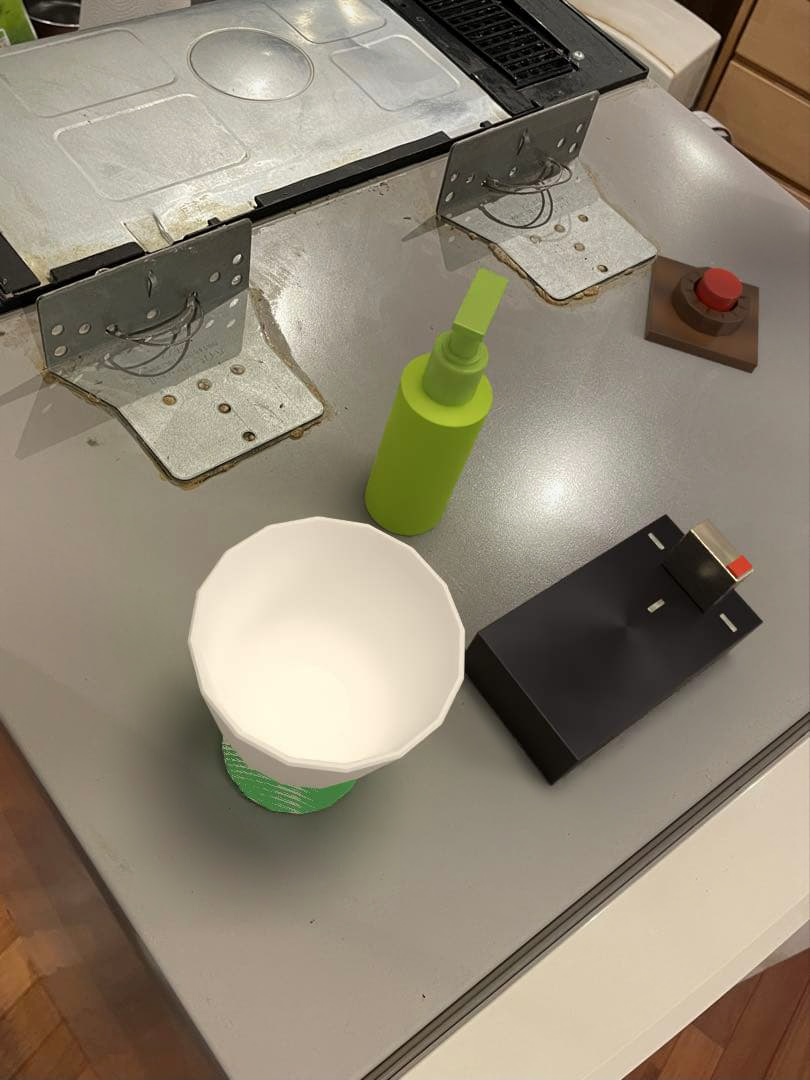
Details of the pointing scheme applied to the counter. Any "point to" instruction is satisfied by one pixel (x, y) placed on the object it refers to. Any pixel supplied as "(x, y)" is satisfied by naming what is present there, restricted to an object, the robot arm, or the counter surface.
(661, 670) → the black switch box
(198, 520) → the counter surface
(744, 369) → the block
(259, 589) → the cup
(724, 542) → the red-tipped black block
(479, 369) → the soap dispenser
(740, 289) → the button
